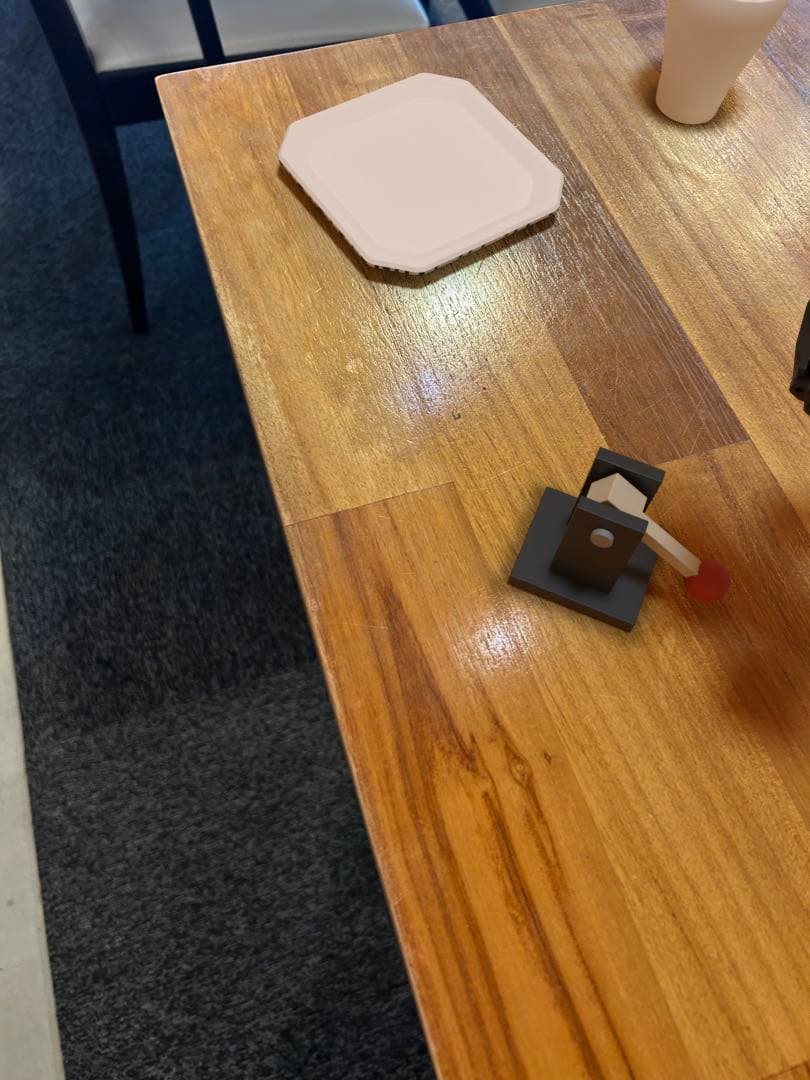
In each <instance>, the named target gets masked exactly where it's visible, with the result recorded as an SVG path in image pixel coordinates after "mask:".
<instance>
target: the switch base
mask: <svg viewBox="0 0 810 1080" xmlns="http://www.w3.org/2000/svg"><path fill="white" fill-rule="evenodd" d="M616 473H618V474H620V475H621V476H622V477H623V478H624V479H625V480H627V481H628V482H629V483H630V484H631V485H633V486H634V487H635V488H636V489H637V490H638V491H640V492H641V493H642V494H643V495H644V496H645V497H647V500H646V503H645V506H644V509H643V513H644V514H645V513H646V512H647V510H648V508H649V507H650V505H651V503H652V501H653V500H654V498H655V496H656V494H657V493H658V491H659V489H660V487H661V486H662V484H663V483H664V479H665V476H666V470H664V469H662V468H659V467H656V466H653V465H651V464H648V463H645V462H643V461H640V460H637V459H635V458H632V457H630V456H627V455H624V454H621V453H618V452H616V451H613V450H612V449H608V448H605V447H602V446H600V447H599V448H598V450H597V452H596V455H595V457H594V459H593V461H592V464H591V466H590V468H589V471H588V473H587V474H586V477H585V480H584V481H583V484H582V487H581V489H580V490H579V493H578V496H574V495H571V494H569V493H567V492H564V491H561V490H558V489H555V488H553V487H550V486H546V487H545V489H544V492H543V494H542V497H541V499H540V501H539V504H538V505H537V509H536V511H535V514H534V516H533V518H532V520H531V524H530V526H529V529H528V531H527V533H526V536H525V537H524V540H523V543H522V546H521V548H520V550H519V553H518V554H517V558H516V560H515V562H514V565H513V568H512V570H511V573H510V575H509V578H508V581H507V584H509V585H511V586H514V587H517V588H518V589H522V590H524V591H527V592H529V593H531V594H534V595H536V596H539V597H541V598H544V599H546V600H549V601H551V602H554V603H557V604H559V605H561V606H564V607H567V608H569V609H572V610H574V611H576V612H579V613H582V614H584V615H586V616H589V617H591V618H594V619H596V620H599V621H601V622H604V623H607V624H609V625H611V626H613V627H615V628H619V629H621V630H624V631H627V632H628V633H630V632H632V630H633V629H634V627H635V626H636V624H637V620H638V617H639V614H640V611H641V609H642V608H641V607H642V605H643V602H644V599H645V596H646V593H647V590H648V586H649V583H650V580H651V578H652V574H653V571H654V567H655V565H656V561H657V558H658V556H659V555H658V554H657V553H656V552H655V551H653V550H652V549H651V548H650V547H649V546H647V545H646V544H645V543H644V542H642V541H641V540H642V538H643V536H644V535H645V532H646V529H647V526H648V523H649V521H647V520H644V519H642V518H639V517H636V516H634V515H631V514H629V513H626V512H623V511H621V510H618V509H616V508H613V507H610V506H608V505H605V504H603V503H600V502H597V501H595V500H592V499H589V498H587V495H588V492H589V489H590V487H591V484H592V483H593V482H596V481H598V480H601V479H603V478H606V477H609V476H611V475H614V474H616Z"/></svg>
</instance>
